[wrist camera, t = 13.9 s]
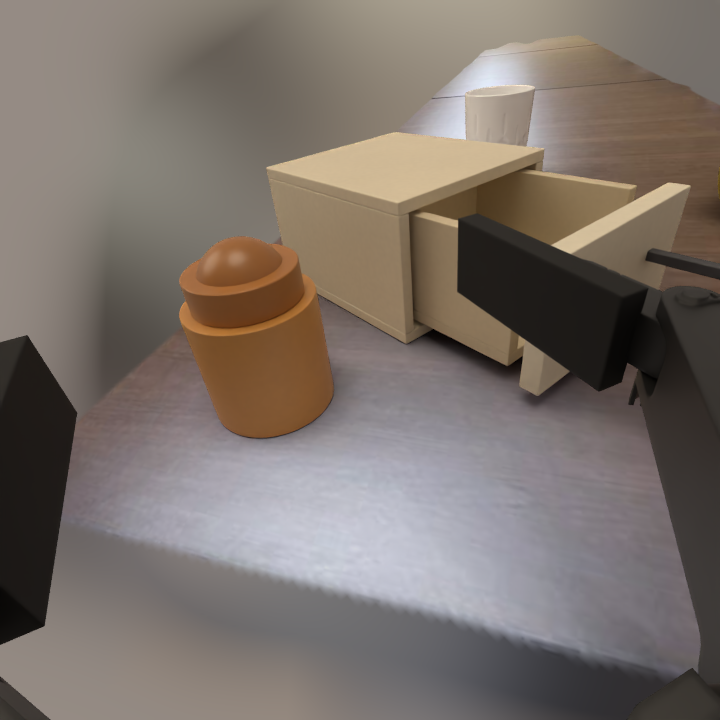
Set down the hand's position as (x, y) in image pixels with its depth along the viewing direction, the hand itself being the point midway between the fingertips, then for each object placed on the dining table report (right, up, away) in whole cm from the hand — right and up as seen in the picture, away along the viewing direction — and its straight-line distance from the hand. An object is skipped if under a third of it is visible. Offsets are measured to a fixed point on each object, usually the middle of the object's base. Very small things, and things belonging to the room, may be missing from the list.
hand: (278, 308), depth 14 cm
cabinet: (+6, +6, +25) cm, 26 cm away
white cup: (+20, +22, +45) cm, 54 cm away
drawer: (+15, +1, +15) cm, 21 cm away
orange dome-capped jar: (-3, -4, +14) cm, 15 cm away
